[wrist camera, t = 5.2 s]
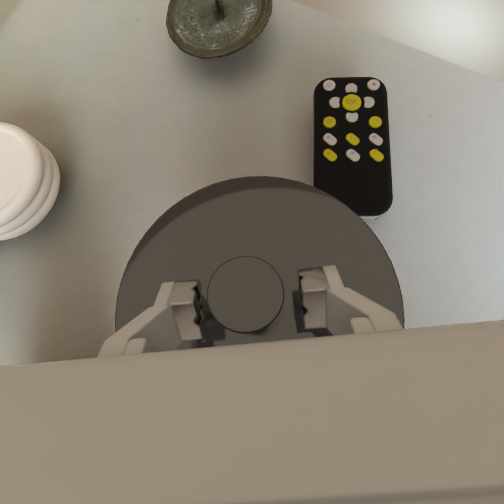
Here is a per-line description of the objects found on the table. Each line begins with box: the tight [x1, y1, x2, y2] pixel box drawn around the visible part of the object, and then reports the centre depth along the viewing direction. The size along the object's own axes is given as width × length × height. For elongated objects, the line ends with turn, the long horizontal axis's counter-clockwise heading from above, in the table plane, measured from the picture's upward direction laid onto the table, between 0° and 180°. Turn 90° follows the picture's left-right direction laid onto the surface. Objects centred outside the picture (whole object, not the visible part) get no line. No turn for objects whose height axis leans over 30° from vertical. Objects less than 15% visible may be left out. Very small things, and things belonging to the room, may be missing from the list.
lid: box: [166, 0, 272, 59], centre depth 33 cm, size 10×10×5 cm
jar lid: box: [115, 176, 404, 350], centre depth 14 cm, size 14×14×6 cm
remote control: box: [313, 77, 393, 219], centre depth 29 cm, size 6×13×2 cm, turn 177°
